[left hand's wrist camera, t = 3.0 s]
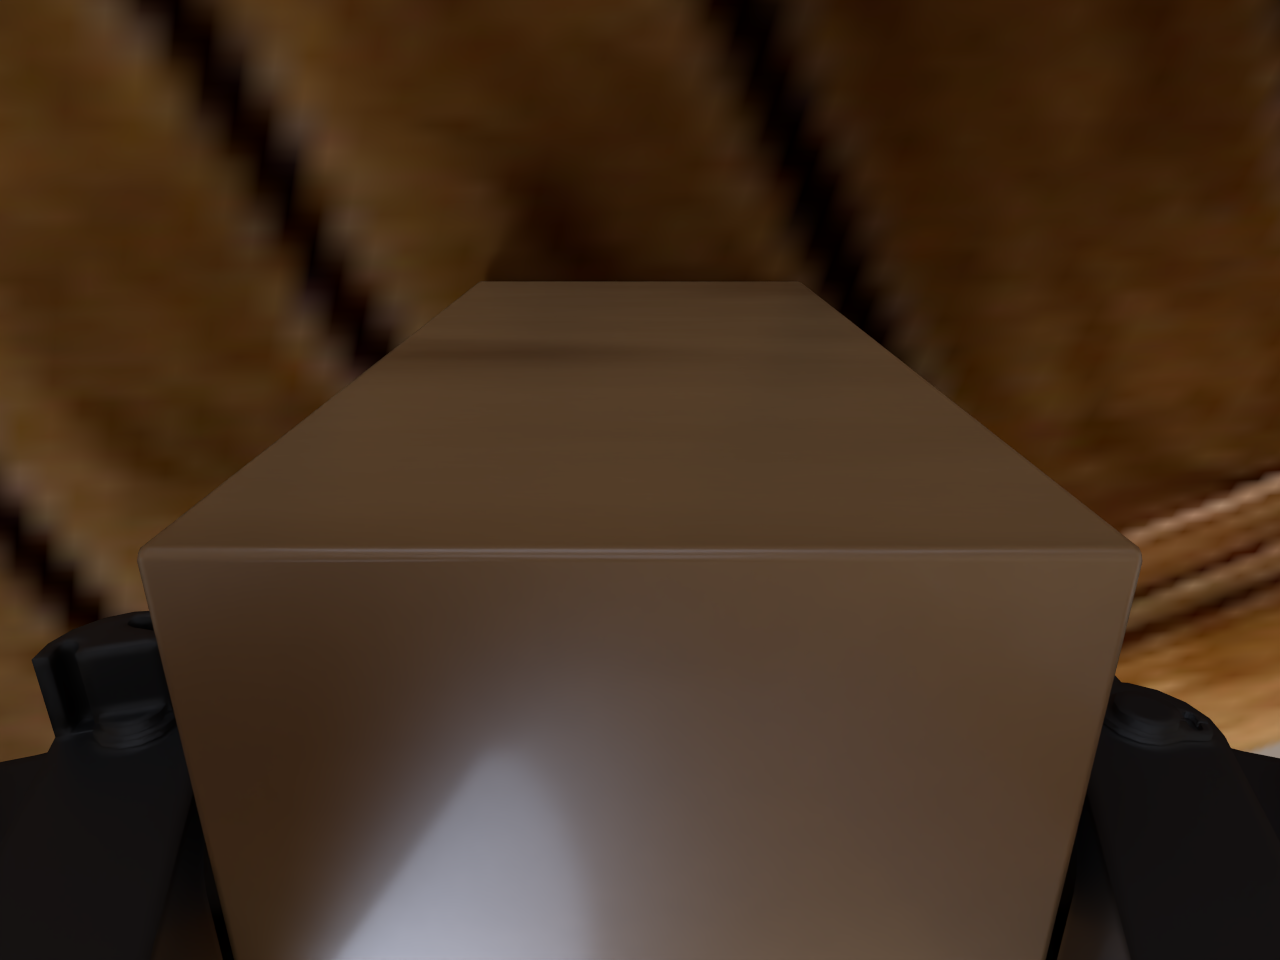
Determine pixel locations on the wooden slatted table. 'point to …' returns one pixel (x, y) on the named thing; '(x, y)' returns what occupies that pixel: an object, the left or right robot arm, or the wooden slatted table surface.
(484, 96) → the wooden slatted table surface
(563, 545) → the block
